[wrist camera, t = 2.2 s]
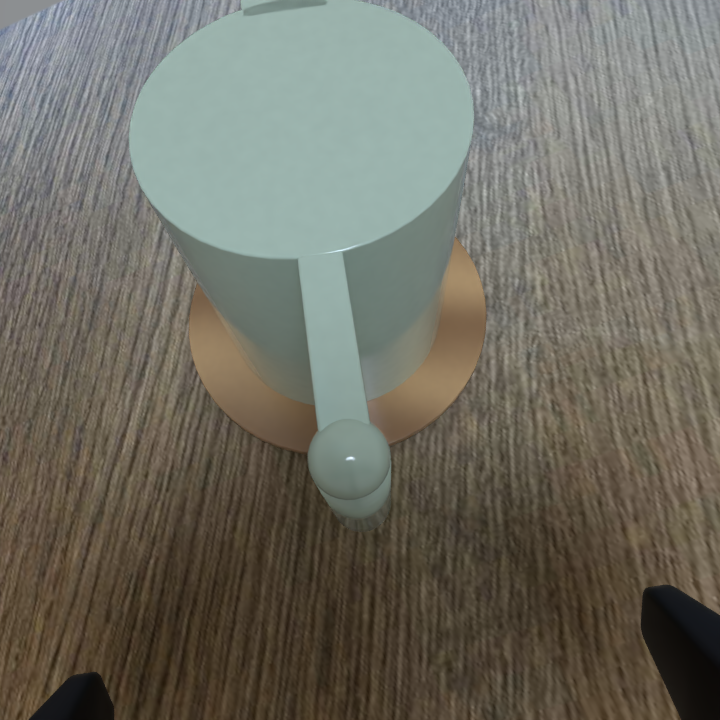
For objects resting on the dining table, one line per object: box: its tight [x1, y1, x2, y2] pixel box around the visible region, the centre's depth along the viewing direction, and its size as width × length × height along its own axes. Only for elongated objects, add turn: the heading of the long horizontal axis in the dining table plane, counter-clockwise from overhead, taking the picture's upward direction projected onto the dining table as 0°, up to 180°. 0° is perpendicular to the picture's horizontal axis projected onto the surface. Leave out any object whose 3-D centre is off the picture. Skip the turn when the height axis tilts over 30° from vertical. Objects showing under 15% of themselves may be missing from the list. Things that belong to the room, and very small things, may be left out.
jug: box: [129, 0, 474, 532], centre depth 18 cm, size 15×8×10 cm, turn 8°
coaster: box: [189, 237, 487, 455], centre depth 23 cm, size 12×12×1 cm
